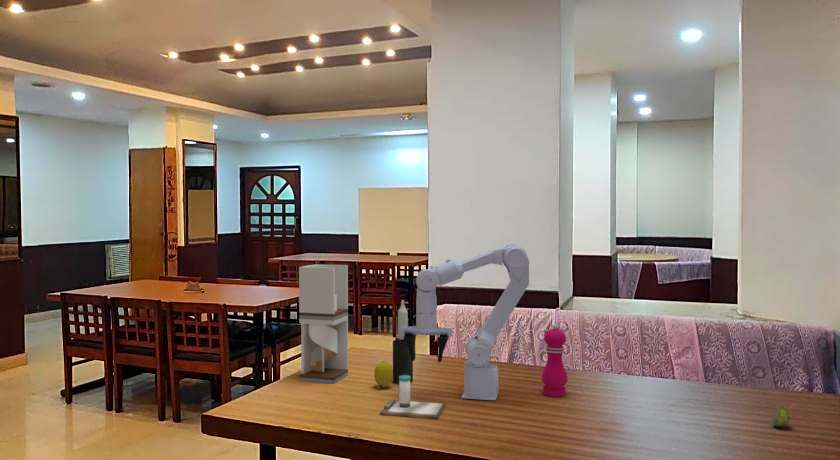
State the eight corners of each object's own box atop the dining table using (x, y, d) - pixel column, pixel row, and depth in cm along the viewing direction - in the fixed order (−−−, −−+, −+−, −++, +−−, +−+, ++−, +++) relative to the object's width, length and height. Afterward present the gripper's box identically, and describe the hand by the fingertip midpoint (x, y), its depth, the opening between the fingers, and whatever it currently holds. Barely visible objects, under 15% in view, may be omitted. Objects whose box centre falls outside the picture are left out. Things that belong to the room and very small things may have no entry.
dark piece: (391, 383, 187) (391, 300, 186) (399, 379, 191) (399, 298, 191) (406, 385, 185) (406, 301, 184) (414, 381, 189) (414, 299, 188)
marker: (411, 404, 163) (411, 375, 163) (409, 408, 160) (409, 378, 160) (400, 404, 164) (400, 374, 164) (398, 407, 161) (397, 377, 161)
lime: (780, 431, 146) (780, 410, 145) (763, 424, 150) (763, 404, 150) (795, 429, 147) (795, 408, 147) (778, 422, 151) (778, 402, 151)
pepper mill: (565, 390, 179) (566, 321, 178) (568, 398, 172) (569, 326, 171) (540, 389, 180) (541, 321, 179) (542, 396, 173) (543, 325, 172)
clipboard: (445, 405, 165) (445, 400, 165) (437, 419, 154) (437, 413, 154) (391, 402, 168) (391, 397, 168) (380, 414, 157) (379, 409, 157)
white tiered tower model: (299, 381, 189) (299, 267, 188) (315, 372, 199) (314, 264, 198) (333, 384, 186) (333, 268, 185) (348, 375, 196) (347, 265, 195)
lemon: (392, 390, 179) (392, 363, 179) (373, 390, 179) (373, 362, 179) (393, 385, 185) (393, 358, 185) (375, 385, 185) (375, 358, 185)
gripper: (397, 313, 171) (397, 362, 172) (449, 315, 168) (449, 365, 168) (404, 309, 178) (404, 356, 178) (453, 311, 175) (453, 359, 175)
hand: (426, 360), depth 174 cm, fingers open, 7 cm apart
